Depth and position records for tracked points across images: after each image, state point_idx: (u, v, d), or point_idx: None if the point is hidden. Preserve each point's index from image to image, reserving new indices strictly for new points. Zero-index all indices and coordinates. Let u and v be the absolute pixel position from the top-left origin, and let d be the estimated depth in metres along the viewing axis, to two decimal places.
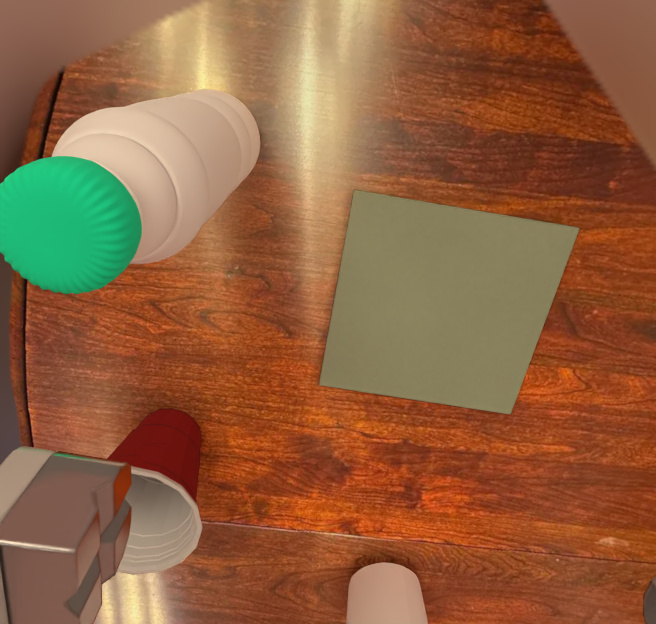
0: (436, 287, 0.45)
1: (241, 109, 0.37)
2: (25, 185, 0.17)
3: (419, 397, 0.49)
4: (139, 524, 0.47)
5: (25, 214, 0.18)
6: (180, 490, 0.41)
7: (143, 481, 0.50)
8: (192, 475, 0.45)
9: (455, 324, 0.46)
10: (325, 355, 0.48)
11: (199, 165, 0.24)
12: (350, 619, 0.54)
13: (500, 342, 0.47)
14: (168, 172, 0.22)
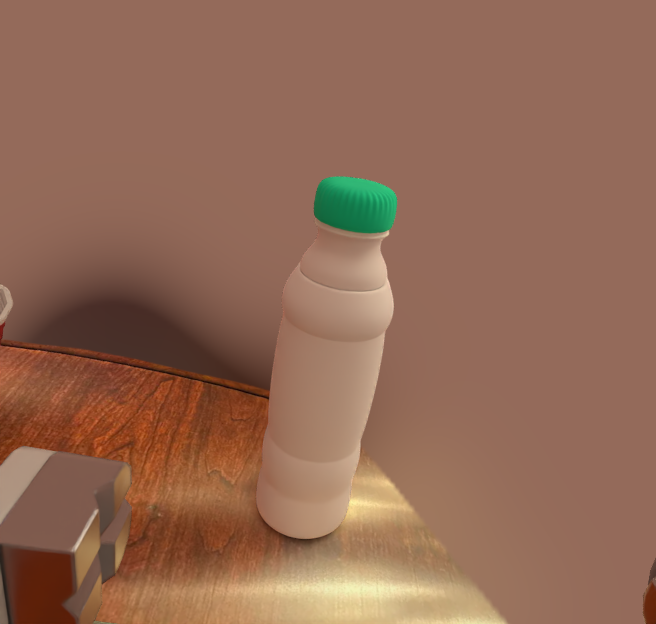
0: None
1: (340, 508, 0.38)
2: (385, 186, 0.31)
3: None
4: None
5: (370, 182, 0.31)
6: None
7: None
8: None
9: None
10: None
11: (366, 324, 0.31)
12: None
13: None
14: (369, 289, 0.31)
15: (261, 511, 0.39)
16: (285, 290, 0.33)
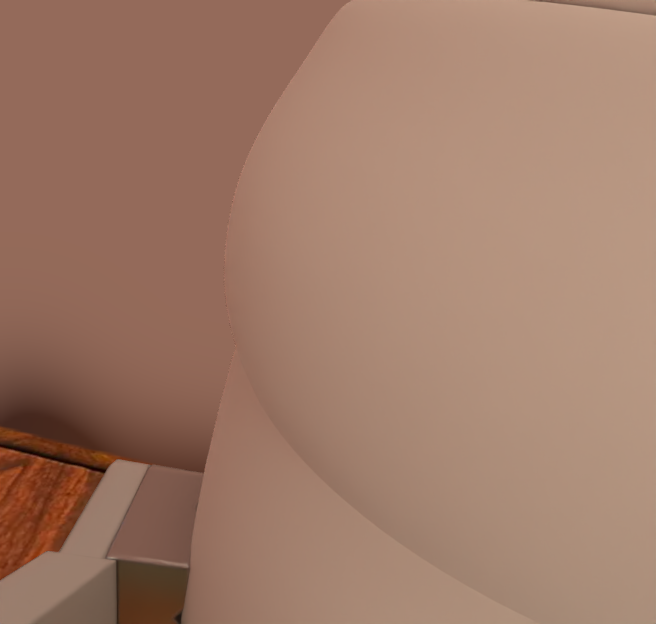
0: None
1: None
2: None
3: None
4: None
5: None
6: None
7: None
8: None
9: None
10: None
11: None
12: None
13: None
14: None
15: None
16: (249, 170, 0.04)
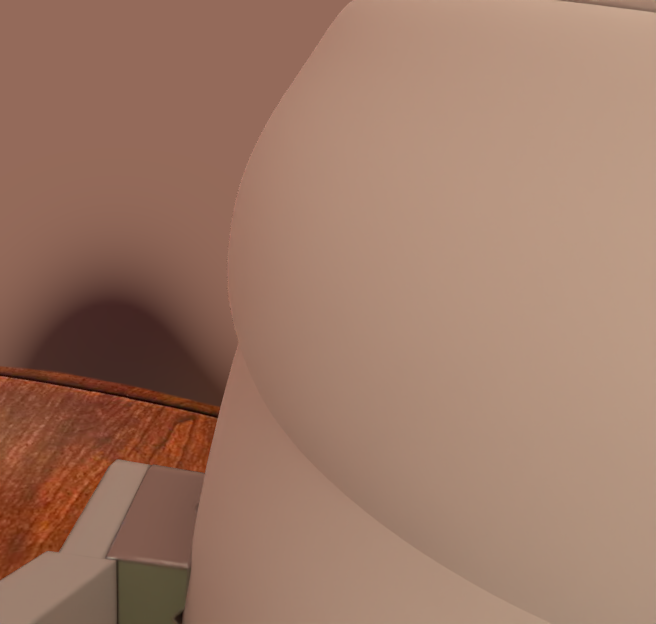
0: None
1: None
2: None
3: None
4: None
5: None
6: None
7: None
8: None
9: None
10: None
11: None
12: None
13: None
14: None
15: None
16: (253, 167, 0.04)
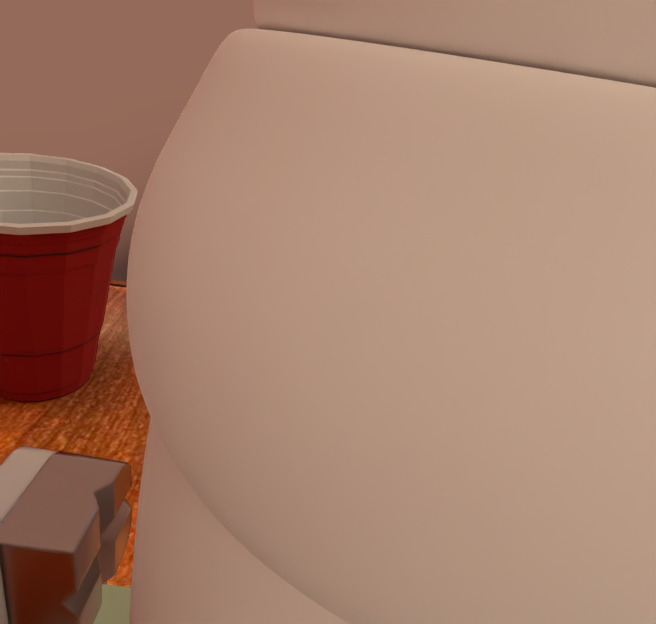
0: None
1: None
2: None
3: None
4: None
5: None
6: (68, 223, 0.24)
7: None
8: (29, 294, 0.26)
9: None
10: None
11: None
12: None
13: None
14: None
15: None
16: None
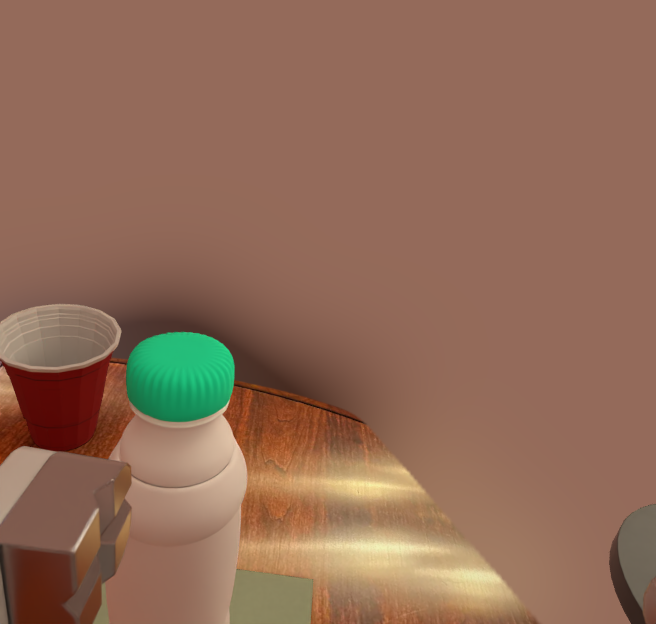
0: None
1: None
2: (221, 349, 0.25)
3: None
4: (20, 358, 0.51)
5: (201, 344, 0.25)
6: (83, 363, 0.46)
7: None
8: (61, 397, 0.48)
9: None
10: None
11: (192, 527, 0.24)
12: None
13: None
14: (197, 483, 0.24)
15: None
16: None
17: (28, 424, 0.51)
